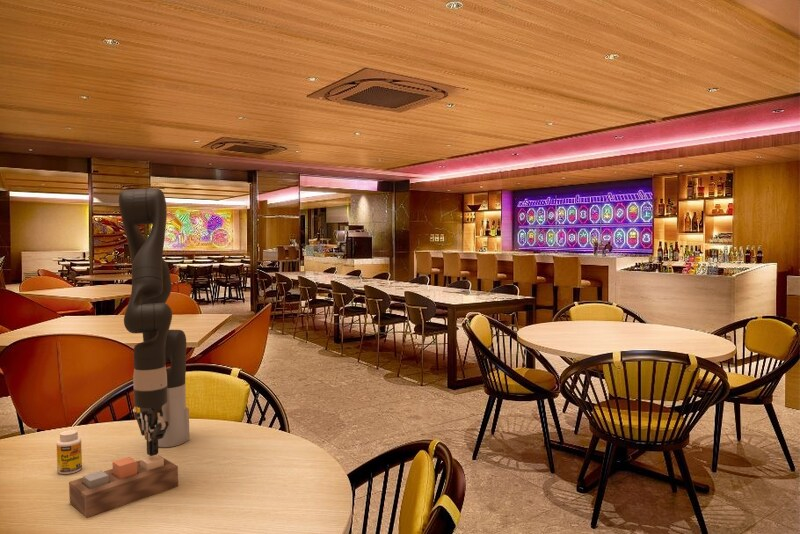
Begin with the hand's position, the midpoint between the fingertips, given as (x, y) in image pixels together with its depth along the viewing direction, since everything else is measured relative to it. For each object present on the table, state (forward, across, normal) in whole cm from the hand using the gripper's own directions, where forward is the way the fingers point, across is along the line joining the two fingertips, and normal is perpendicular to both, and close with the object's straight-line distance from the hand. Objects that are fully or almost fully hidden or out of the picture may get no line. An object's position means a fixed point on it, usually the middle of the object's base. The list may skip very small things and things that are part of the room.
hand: (152, 454), depth 142 cm
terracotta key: (+4, 0, +7) cm, 8 cm away
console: (+8, 0, +7) cm, 10 cm away
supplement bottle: (+8, +24, +11) cm, 27 cm away
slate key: (+5, 0, +13) cm, 14 cm away
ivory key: (+5, 0, 0) cm, 5 cm away
